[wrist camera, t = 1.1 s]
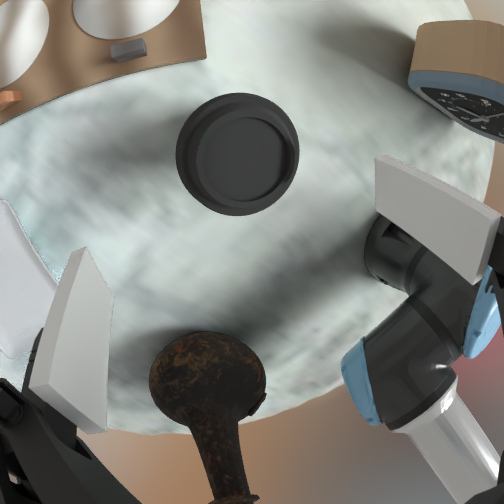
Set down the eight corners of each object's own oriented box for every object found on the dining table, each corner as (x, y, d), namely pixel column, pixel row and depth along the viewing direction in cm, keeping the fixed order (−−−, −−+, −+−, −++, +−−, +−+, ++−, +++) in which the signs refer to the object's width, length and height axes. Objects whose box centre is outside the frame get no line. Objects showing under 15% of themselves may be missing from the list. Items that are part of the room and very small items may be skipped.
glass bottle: (236, 386, 53) (278, 516, 30) (143, 380, 47) (158, 528, 23) (269, 319, 46) (344, 479, 23) (156, 306, 40) (173, 508, 16)
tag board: (191, -63, 17) (196, -85, 12) (205, 59, 26) (211, 50, 22) (-30, 21, 12) (-51, 16, 7) (-23, 138, 21) (-47, 147, 17)
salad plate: (15, 186, 26) (2, 195, 24) (96, 310, 38) (93, 326, 35) (-56, 254, 25) (-66, 265, 23) (15, 347, 37) (10, 361, 34)
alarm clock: (385, 80, 32) (525, 101, 13) (397, 26, 28) (528, 23, 9) (462, 131, 38) (562, 171, 20) (472, 86, 34) (571, 114, 16)
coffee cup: (174, 175, 32) (177, 229, 19) (175, 96, 27) (177, 89, 15) (252, 173, 34) (303, 223, 21) (257, 98, 30) (318, 99, 17)
